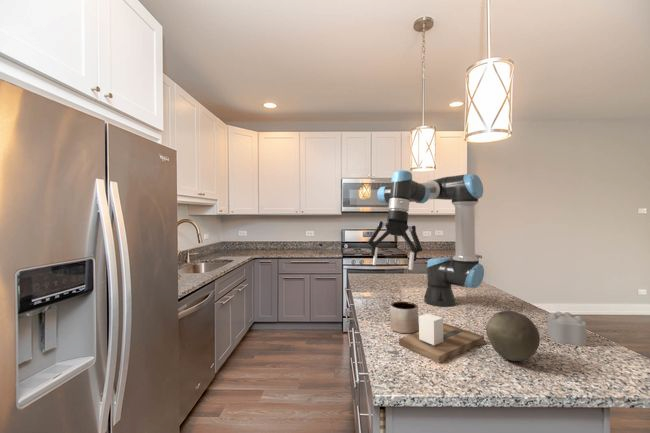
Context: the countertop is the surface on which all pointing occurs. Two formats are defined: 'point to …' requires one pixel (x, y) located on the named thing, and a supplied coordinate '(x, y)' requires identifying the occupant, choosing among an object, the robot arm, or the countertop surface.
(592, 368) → the countertop surface
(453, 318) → the countertop surface
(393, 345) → the countertop surface
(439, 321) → the fader cap
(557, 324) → the lumpy-topped squat cylinder
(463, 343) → the fader board
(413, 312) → the planter
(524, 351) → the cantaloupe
